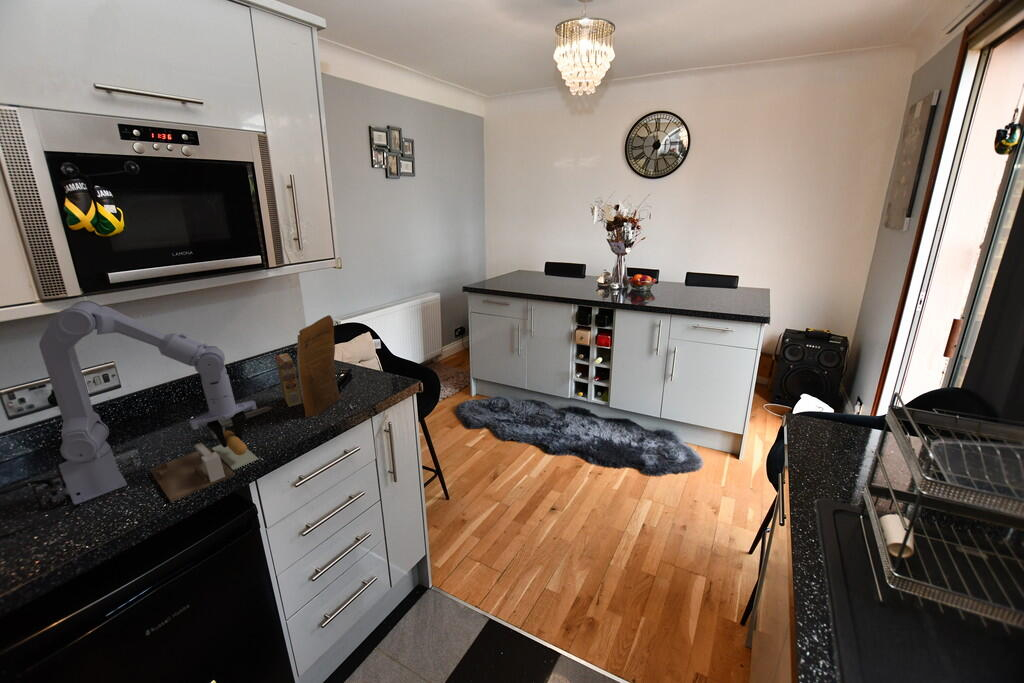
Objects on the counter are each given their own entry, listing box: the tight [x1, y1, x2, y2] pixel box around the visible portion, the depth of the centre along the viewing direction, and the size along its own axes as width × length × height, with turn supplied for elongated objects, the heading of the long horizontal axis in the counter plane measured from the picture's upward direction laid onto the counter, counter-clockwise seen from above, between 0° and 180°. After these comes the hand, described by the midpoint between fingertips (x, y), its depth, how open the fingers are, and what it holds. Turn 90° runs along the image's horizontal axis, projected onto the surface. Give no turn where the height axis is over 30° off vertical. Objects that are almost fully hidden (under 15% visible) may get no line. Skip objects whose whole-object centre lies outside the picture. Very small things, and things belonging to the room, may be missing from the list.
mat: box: [211, 444, 259, 471], centre depth 121 cm, size 6×16×1 cm, turn 48°
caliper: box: [210, 406, 273, 440], centre depth 137 cm, size 20×1×6 cm, turn 162°
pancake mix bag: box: [296, 315, 341, 418], centre depth 143 cm, size 7×19×28 cm, turn 164°
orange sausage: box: [223, 430, 248, 455], centre depth 118 cm, size 12×3×3 cm, turn 48°
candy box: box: [274, 352, 303, 408], centre depth 149 cm, size 9×4×15 cm, turn 36°
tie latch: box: [194, 442, 225, 482], centre depth 111 cm, size 3×11×6 cm, turn 48°
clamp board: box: [149, 447, 235, 503], centre depth 113 cm, size 13×19×3 cm
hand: (231, 443), depth 120 cm, fingers closed on orange sausage, 3 cm apart
